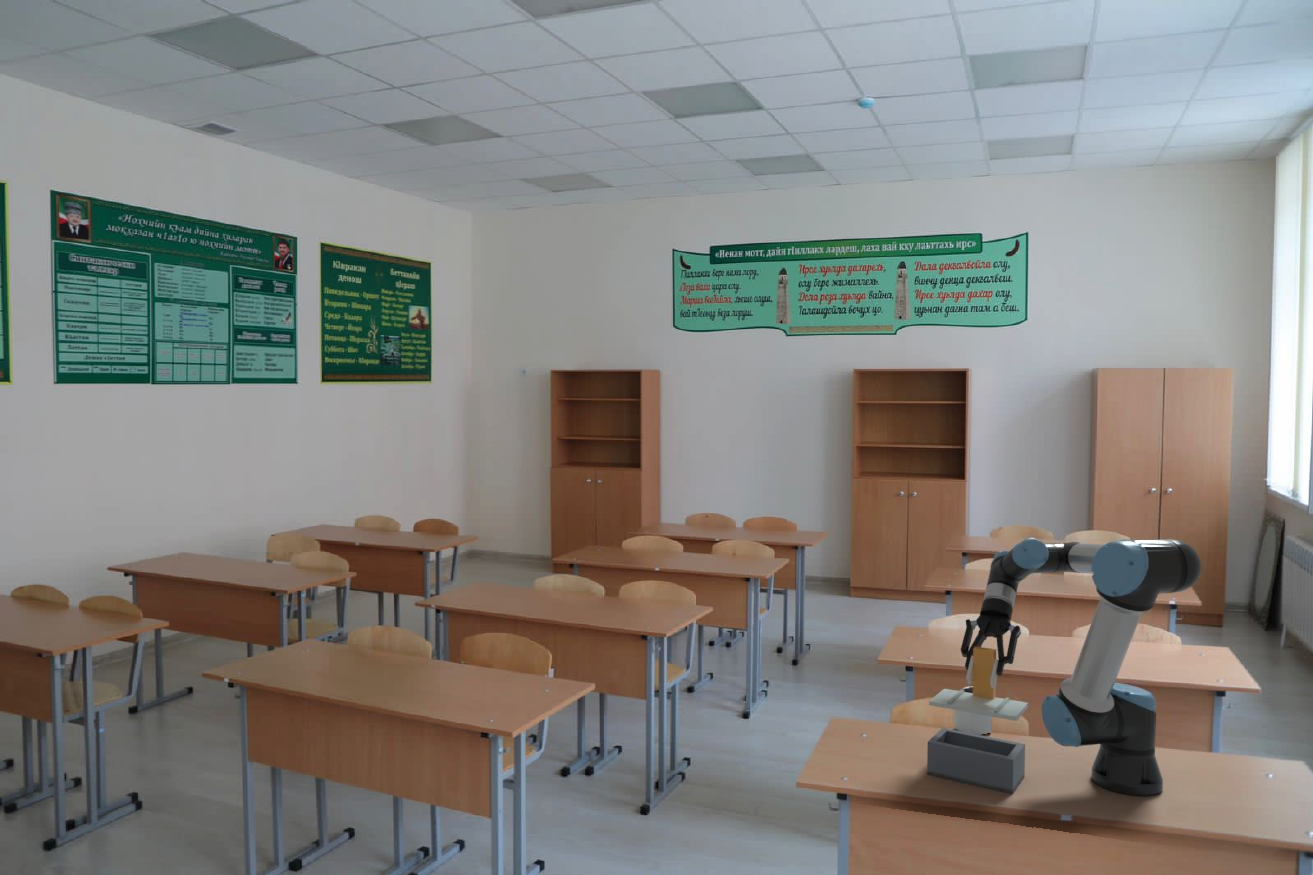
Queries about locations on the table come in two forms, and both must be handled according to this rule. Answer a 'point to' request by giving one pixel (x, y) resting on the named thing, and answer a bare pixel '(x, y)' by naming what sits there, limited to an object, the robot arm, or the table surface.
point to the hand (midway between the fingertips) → (980, 683)
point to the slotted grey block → (981, 692)
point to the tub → (976, 760)
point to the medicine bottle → (972, 720)
